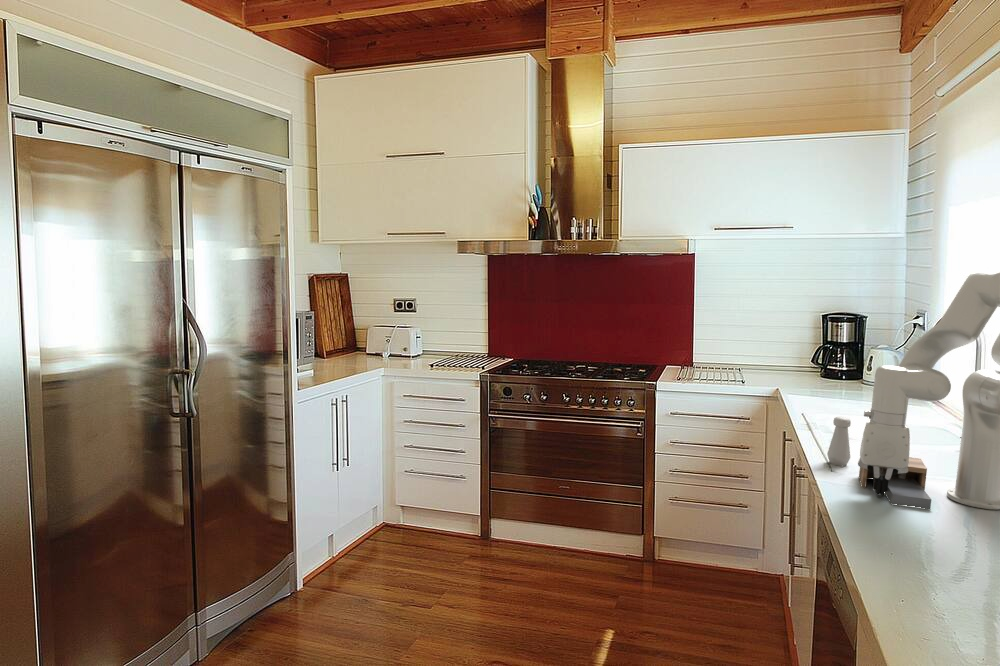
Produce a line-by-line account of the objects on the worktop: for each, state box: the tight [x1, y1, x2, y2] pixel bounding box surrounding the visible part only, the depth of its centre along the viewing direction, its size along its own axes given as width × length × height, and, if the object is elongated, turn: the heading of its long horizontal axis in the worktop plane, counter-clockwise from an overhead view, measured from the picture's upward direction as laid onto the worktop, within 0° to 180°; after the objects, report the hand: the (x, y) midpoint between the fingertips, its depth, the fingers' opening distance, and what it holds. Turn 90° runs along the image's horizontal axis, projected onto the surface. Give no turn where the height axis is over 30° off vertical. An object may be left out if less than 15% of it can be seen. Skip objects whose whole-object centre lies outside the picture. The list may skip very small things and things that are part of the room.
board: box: [881, 476, 932, 510], centre depth 184 cm, size 16×8×3 cm, turn 163°
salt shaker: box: [826, 416, 852, 467], centre depth 210 cm, size 6×6×13 cm
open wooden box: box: [858, 456, 928, 491], centre depth 192 cm, size 10×14×7 cm
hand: (879, 493), depth 184 cm, fingers closed
